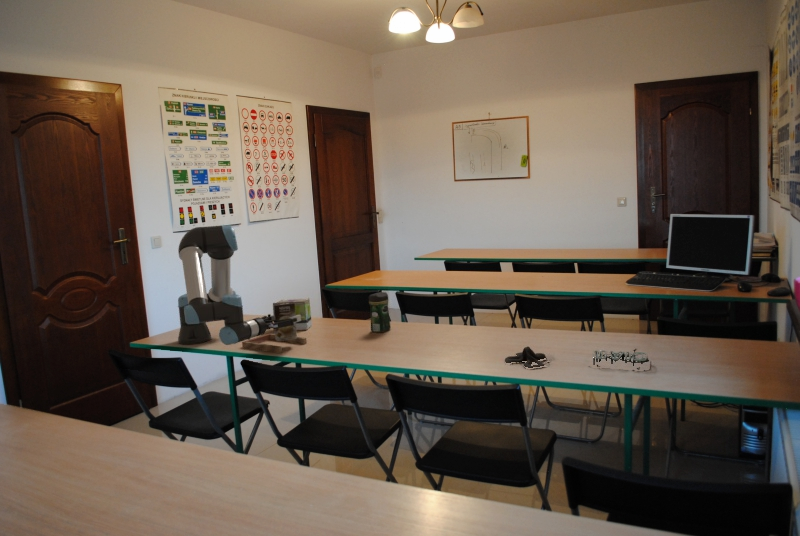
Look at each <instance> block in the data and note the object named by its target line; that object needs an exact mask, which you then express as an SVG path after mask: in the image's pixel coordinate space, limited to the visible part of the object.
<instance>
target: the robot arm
mask: <svg viewBox="0 0 800 536" xmlns="http://www.w3.org/2000/svg"><path fill="white" fill-rule="evenodd" d="M237 243H238V242H237V236H236V233H235V229H234V226H233V225H232V224H231V225H230V224H227V225H225V224H222V225H211V226H197V227H193V228H191V229H189V230H188V231H187V232H186V233H185V234H184V235H183V237H182V238H181V240H180V242H179V245H178V248H177V249H178V257H179V259H180V261H181V262H182V269H183V275H184V282H185V283H184V284H185V289H186V293H185V294H183V295H180V296H179V297H178V299H177V307H178V314H179V325H180V327H179V328H180V329H179V333H178V337H177V341H178V344H179V345H195V344H201V343H205V342H209V341H211V340H212V334H211V331H210V329H209V327H208V324H207V323H210V322H219V321H223V322H224V324H223V325H224V326H223V327H221V328H220V329H219V333H218V337H219V340H220V342H221V343H222V344H223V345H225V346H230V345H234V344H238V343H242V342H244V341H247V340H250V339H254V338H257V337H260V336H263V335H265V333H266V332H267V331H268V330H271V329H273V330H274V329H278V328H282V327H286V326H292V325H294V323H296V322H299V321H301V315H297V316H293V317H290V318H289V319H283V320H274V315H271V314H270V313H268V314H267V315H263V316H262V317H255V318H252V319H251V318H250V319H248V320H244V309H243V301H242V297H241V295H239V294H237V292H236V290H233V288H232V287H231V258H232V257H233V256H234V253H235V252H236V251H238V249H239V247H238V244H237ZM203 254H207V255H208V257H209V258H210V272H211V273H210V274H211V275H210V276H211V277H210V278H211V279H210V280H211V287H210V289H209V290H208V293H207V288H206V280H205V276H204V268H203V263H202V262H203V261H202V257H203Z"/></svg>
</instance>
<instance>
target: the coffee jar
mask: <svg viewBox="0 0 800 536" xmlns="http://www.w3.org/2000/svg"><path fill="white" fill-rule="evenodd" d="M368 304H369V307H370V331H371V332H373V333H377V334H378V333H384V332H387V331H389V330H391V320H390V315H389V314H390V312H389V295H388V293H387V292H385V291H383V292H382V291H380V292H376V293H373V294H369V296H368Z"/></svg>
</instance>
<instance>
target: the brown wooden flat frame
mask: <svg viewBox="0 0 800 536" xmlns="http://www.w3.org/2000/svg"><path fill="white" fill-rule="evenodd" d="M270 340H272V341H276V339H275V333H266V334H263V335H260V336H256V337H253V338H250V340H248V339H247V340H244V341H241V345H242V348H243V347H245V348H244V349H249V348H252V349H251V350H256V349H257V351H264V352H271V353H277V354H281V353H283V349H282V346H278V345H273V344H266V343H264V342H267V341H270ZM281 342H286V343H293V344H300V345H301V344H302V345H306V344H307V343H308V342H307V337H300V336H297V339H291V340H282V341H281Z"/></svg>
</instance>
